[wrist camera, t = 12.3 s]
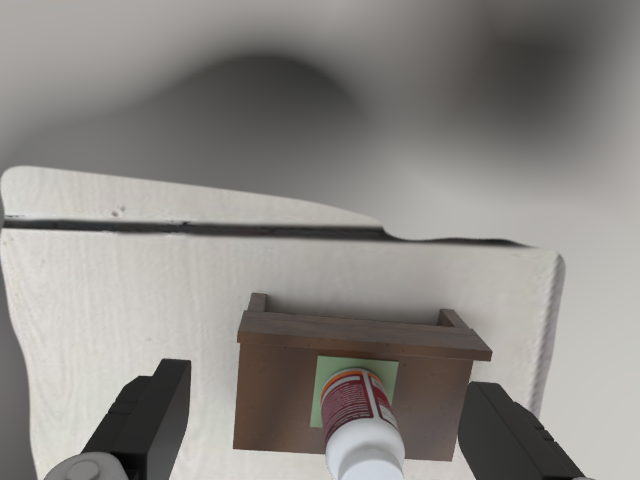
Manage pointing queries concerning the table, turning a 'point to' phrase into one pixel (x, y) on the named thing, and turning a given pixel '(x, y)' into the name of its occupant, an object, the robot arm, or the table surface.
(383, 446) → the pill bottle
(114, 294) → the table surface
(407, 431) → the shelf
